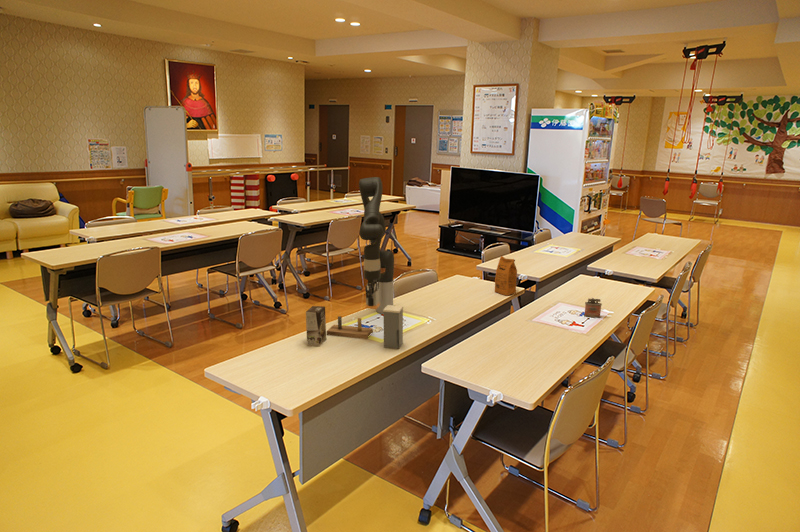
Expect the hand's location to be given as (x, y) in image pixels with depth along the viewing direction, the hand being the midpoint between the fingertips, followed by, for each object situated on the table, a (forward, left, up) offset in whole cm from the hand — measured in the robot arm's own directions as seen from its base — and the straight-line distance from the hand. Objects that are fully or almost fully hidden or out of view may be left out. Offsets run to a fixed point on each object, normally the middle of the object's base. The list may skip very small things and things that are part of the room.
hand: (372, 303), depth 238 cm
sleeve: (0, 0, -2) cm, 2 cm away
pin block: (-4, -13, -17) cm, 22 cm away
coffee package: (-91, +55, -18) cm, 108 cm away
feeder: (+5, +11, -17) cm, 21 cm away
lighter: (-58, +102, -17) cm, 119 cm away
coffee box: (+10, -24, -17) cm, 31 cm away
